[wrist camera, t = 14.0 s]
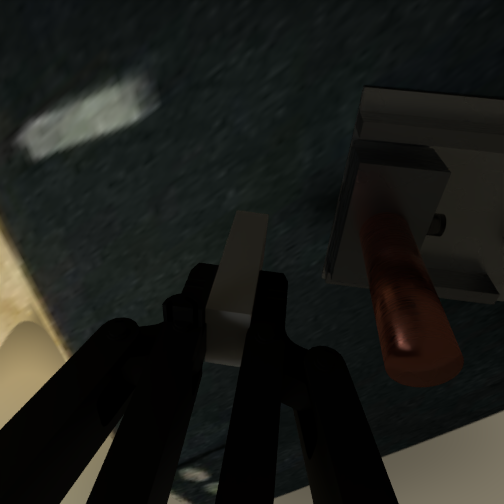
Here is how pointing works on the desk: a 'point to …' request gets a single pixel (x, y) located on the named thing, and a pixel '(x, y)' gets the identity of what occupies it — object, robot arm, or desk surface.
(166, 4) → the desk surface
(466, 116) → the press bed
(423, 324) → the ram
